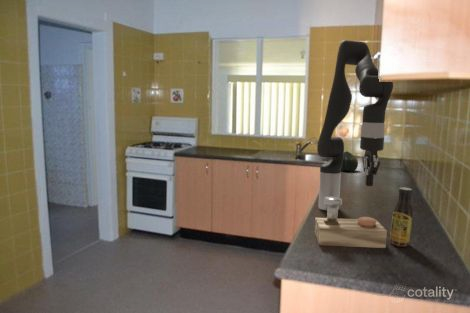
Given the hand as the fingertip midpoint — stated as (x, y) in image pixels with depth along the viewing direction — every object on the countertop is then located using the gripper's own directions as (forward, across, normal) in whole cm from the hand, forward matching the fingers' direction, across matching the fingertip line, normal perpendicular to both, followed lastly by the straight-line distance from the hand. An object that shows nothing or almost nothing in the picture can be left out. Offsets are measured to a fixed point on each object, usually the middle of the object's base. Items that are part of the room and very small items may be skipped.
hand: (368, 185), depth 128 cm
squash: (+21, -147, +25) cm, 150 cm away
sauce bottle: (+20, +2, +11) cm, 23 cm away
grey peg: (+13, 0, -12) cm, 18 cm away
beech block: (+20, 0, -6) cm, 21 cm away
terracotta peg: (+20, 0, 0) cm, 20 cm away
